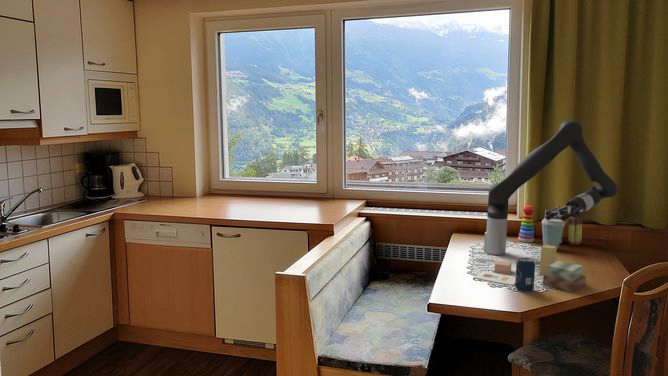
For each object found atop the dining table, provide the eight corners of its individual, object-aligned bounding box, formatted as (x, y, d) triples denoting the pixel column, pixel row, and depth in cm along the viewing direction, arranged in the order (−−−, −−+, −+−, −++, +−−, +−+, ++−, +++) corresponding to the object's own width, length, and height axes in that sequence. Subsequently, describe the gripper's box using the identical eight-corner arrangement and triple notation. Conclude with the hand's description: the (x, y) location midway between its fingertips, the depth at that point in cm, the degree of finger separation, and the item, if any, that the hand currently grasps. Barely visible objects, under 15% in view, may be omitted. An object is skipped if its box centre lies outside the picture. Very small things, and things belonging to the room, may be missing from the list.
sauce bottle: (581, 243, 295) (584, 204, 292) (580, 245, 289) (584, 207, 286) (567, 241, 297) (570, 203, 294) (566, 244, 292) (569, 205, 289)
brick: (494, 273, 245) (494, 263, 244) (496, 269, 250) (497, 260, 250) (508, 274, 242) (509, 265, 242) (511, 271, 248) (511, 262, 247)
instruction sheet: (474, 278, 237) (474, 277, 237) (483, 271, 246) (483, 270, 246) (513, 285, 228) (513, 284, 228) (521, 278, 237) (521, 277, 237)
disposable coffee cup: (540, 245, 290) (542, 216, 288) (563, 247, 286) (565, 217, 284) (539, 250, 280) (541, 220, 278) (563, 252, 276) (565, 222, 274)
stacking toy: (535, 243, 294) (537, 207, 291) (518, 242, 295) (521, 206, 292) (533, 239, 302) (535, 204, 299) (517, 238, 303) (519, 203, 300)
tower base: (542, 285, 229) (544, 265, 228) (555, 278, 238) (557, 259, 236) (573, 292, 221) (574, 272, 220) (585, 285, 229) (586, 265, 228)
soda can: (512, 286, 227) (513, 257, 225) (529, 286, 228) (531, 256, 226) (518, 292, 220) (520, 262, 218) (536, 292, 221) (538, 261, 219)
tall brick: (539, 274, 243) (541, 246, 241) (544, 271, 246) (546, 244, 244) (549, 276, 240) (551, 248, 238) (554, 274, 243) (556, 246, 241)
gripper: (565, 196, 260) (539, 210, 254) (590, 196, 247) (564, 210, 241) (570, 211, 261) (544, 225, 255) (595, 212, 248) (569, 227, 242)
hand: (554, 218), depth 248 cm, fingers open, 8 cm apart
